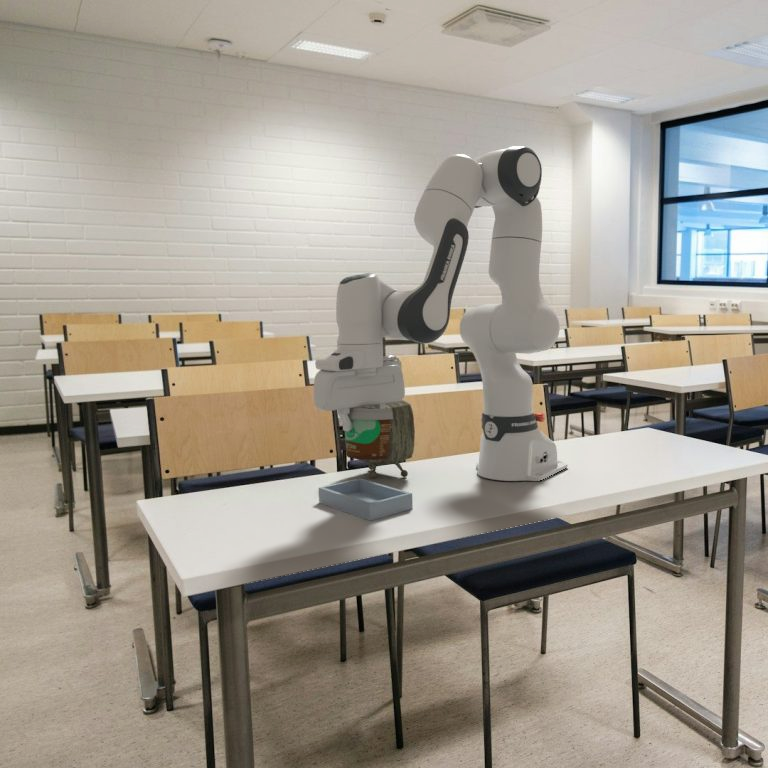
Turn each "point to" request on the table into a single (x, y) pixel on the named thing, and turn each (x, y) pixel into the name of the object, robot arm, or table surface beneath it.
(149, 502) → the table surface
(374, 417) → the food container
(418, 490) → the table surface
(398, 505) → the holder tray
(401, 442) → the tabletop clock
